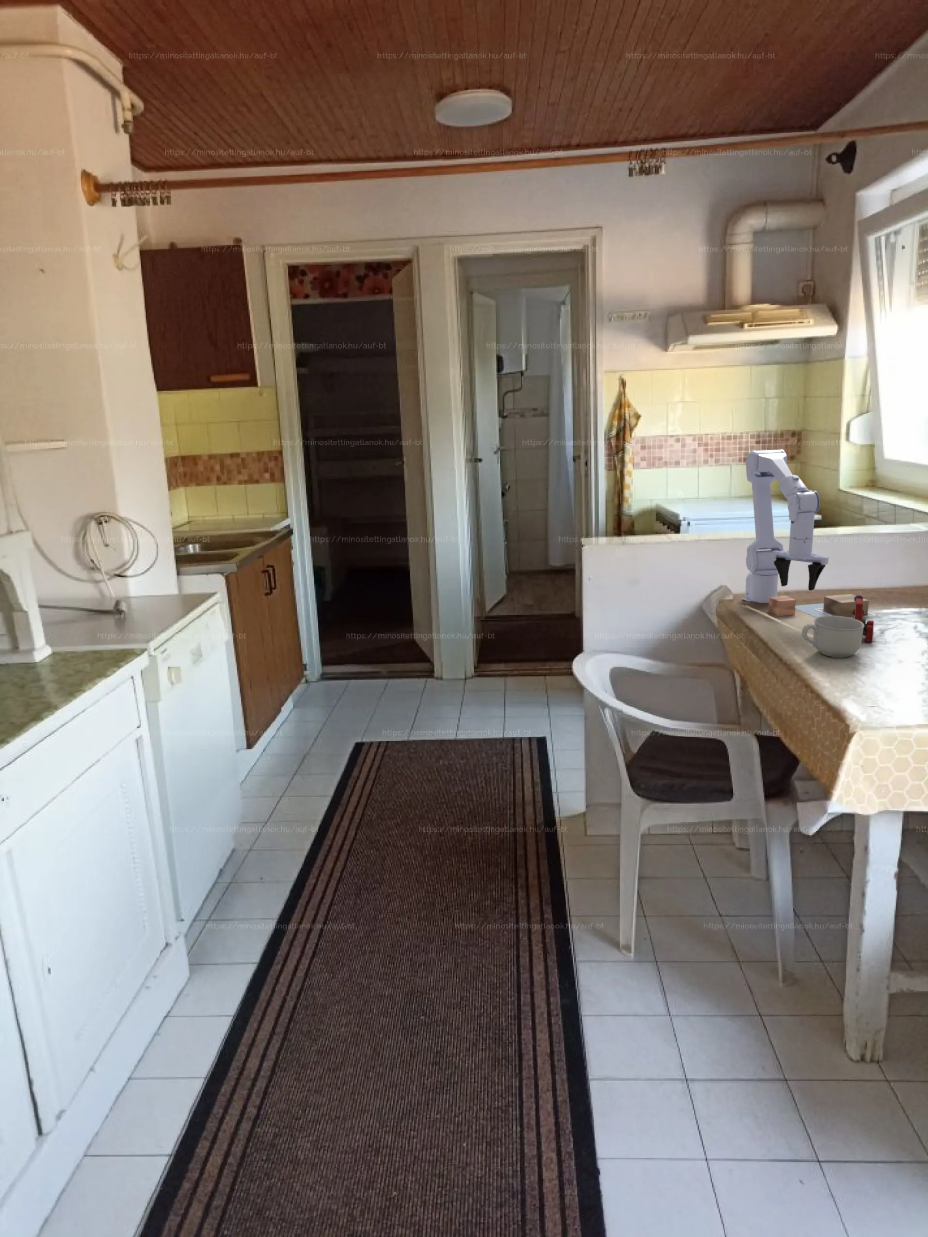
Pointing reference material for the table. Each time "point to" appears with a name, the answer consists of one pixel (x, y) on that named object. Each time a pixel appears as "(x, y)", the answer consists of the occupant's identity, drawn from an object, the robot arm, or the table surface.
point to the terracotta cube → (782, 605)
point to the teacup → (835, 635)
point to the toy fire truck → (859, 614)
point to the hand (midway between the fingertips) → (797, 587)
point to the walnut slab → (842, 605)
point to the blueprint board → (818, 611)
